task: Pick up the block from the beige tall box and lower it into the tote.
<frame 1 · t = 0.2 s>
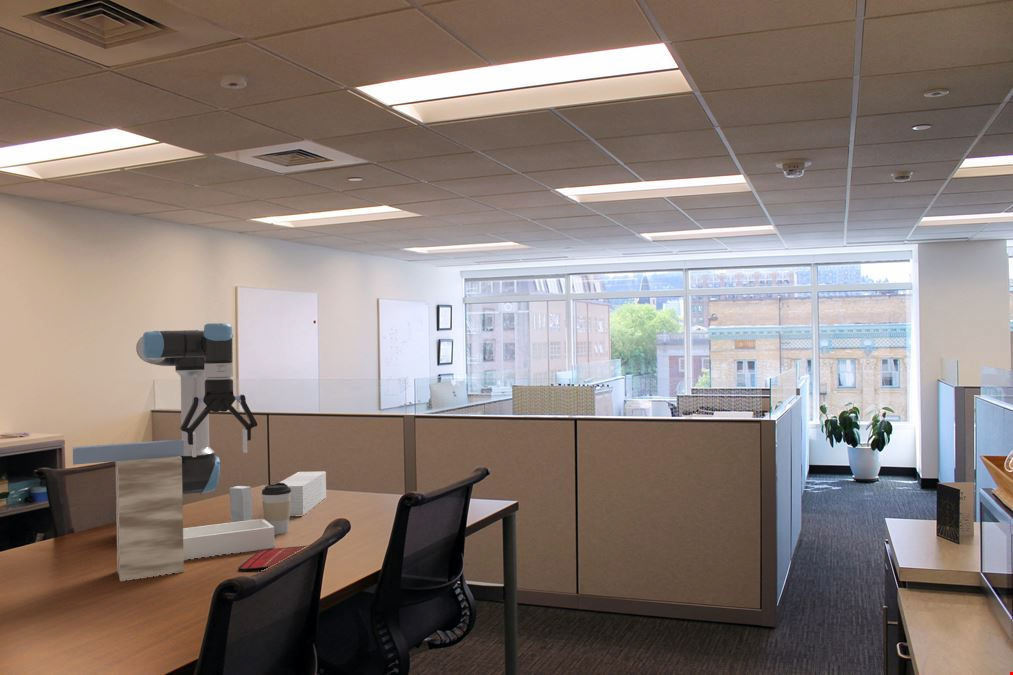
hand: (220, 454, 224), 29 cm above the table, tool pointing down, fingers open, 13 cm apart
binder: (278, 563, 220), on the table
beige tall box: (150, 571, 211), on the table
block: (129, 459, 209), point 30 cm above the table, touching beige tall box
tote: (211, 550, 232), on the table
skincare box: (241, 523, 268), on the table
stack of papers: (300, 508, 293), on the table
coffee cup: (277, 532, 254), on the table
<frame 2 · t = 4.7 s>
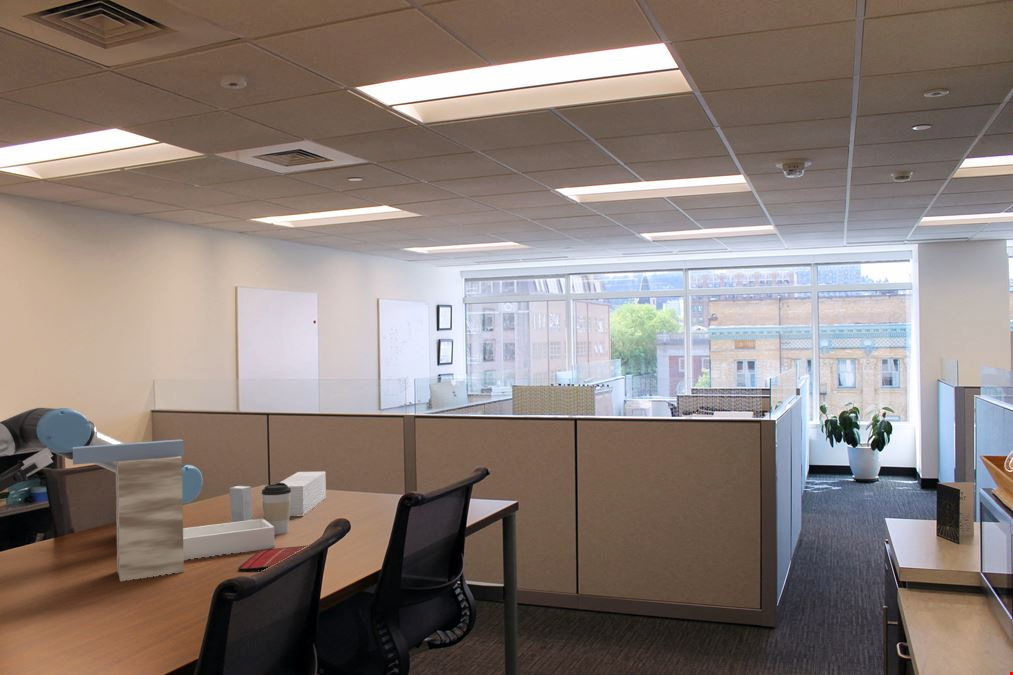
hand: (50, 454, 207), 32 cm above the table, tool pointing upward, fingers open, 13 cm apart
nothing on the table moved.
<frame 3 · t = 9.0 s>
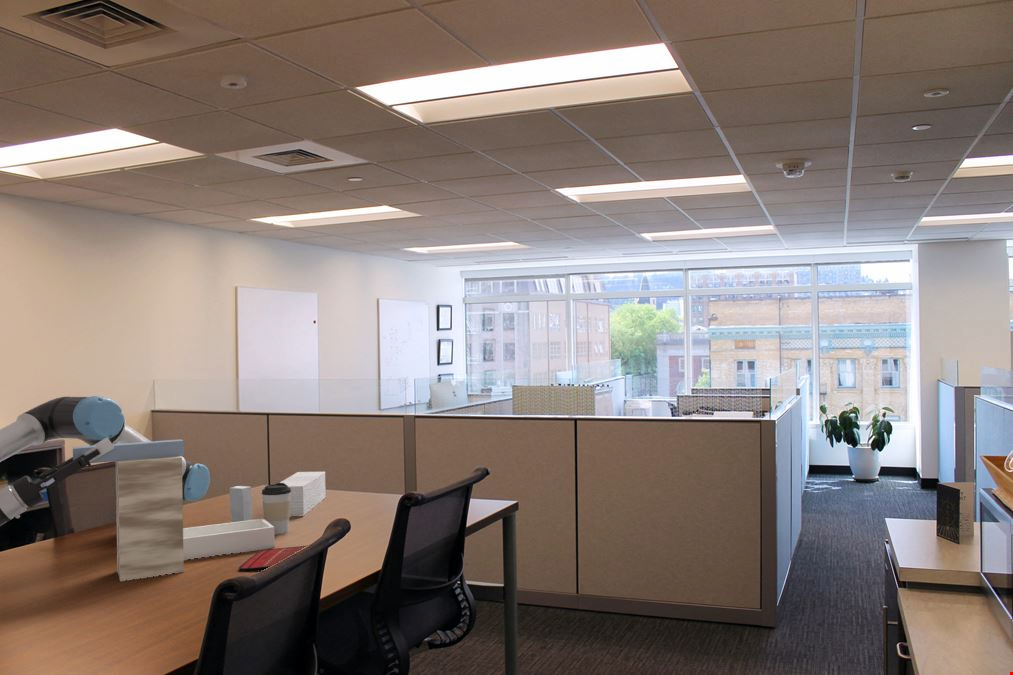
hand: (110, 442, 207), 35 cm above the table, tool pointing upward, fingers closed on block, 4 cm apart
block: (129, 459, 209), point 30 cm above the table, touching gripper, beige tall box
everything else where it was.
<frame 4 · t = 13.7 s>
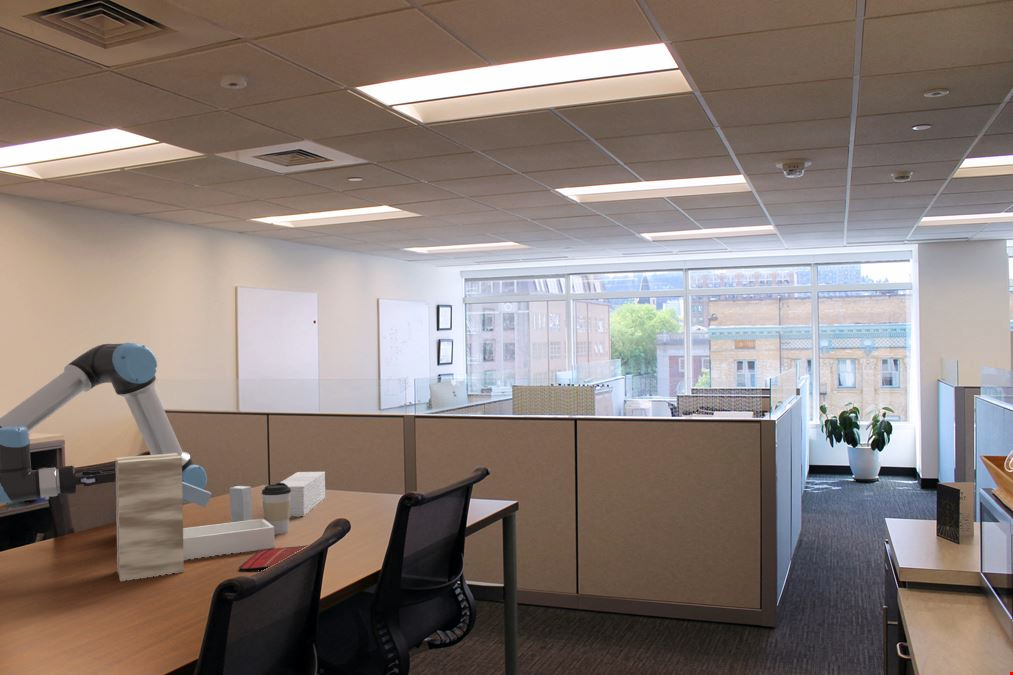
hand: (153, 468, 225), 25 cm above the table, tool horizontal, fingers closed on block, 4 cm apart
block: (160, 489, 225), point 19 cm above the table, tilted 27°, touching gripper
everything else where it was.
when the fingers open (12 cm above the table, at t = 17.2 s): block drops 3 cm, resting on tote.
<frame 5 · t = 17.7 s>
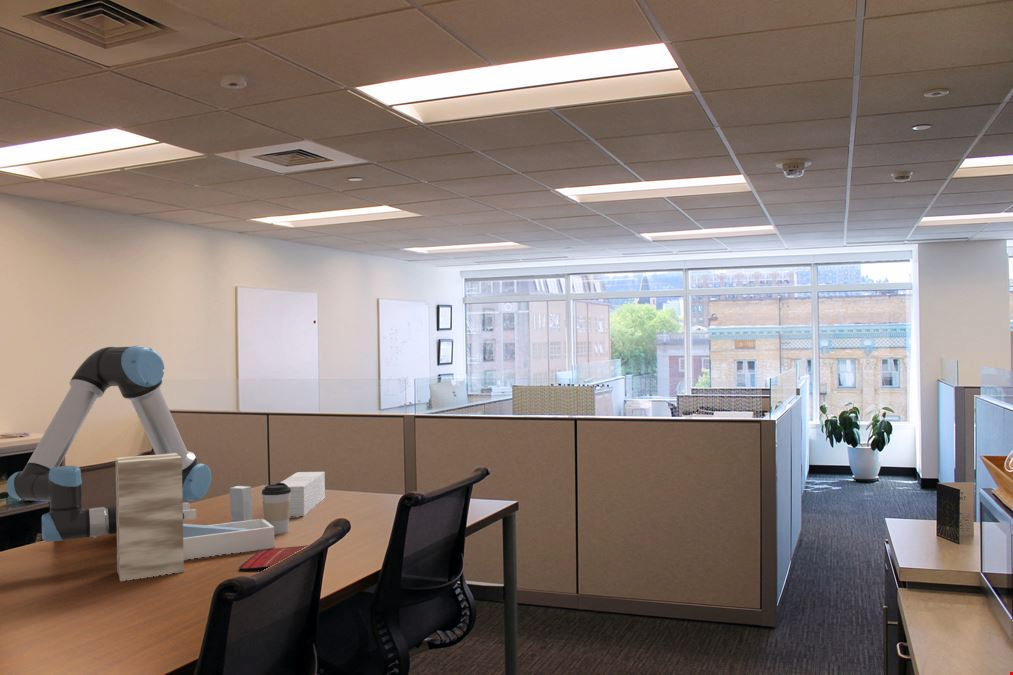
hand: (192, 510, 230), 12 cm above the table, tool horizontal, fingers open, 11 cm apart
block: (199, 540, 230), point 3 cm above the table, tilted 12°, touching tote
everything else where it was.
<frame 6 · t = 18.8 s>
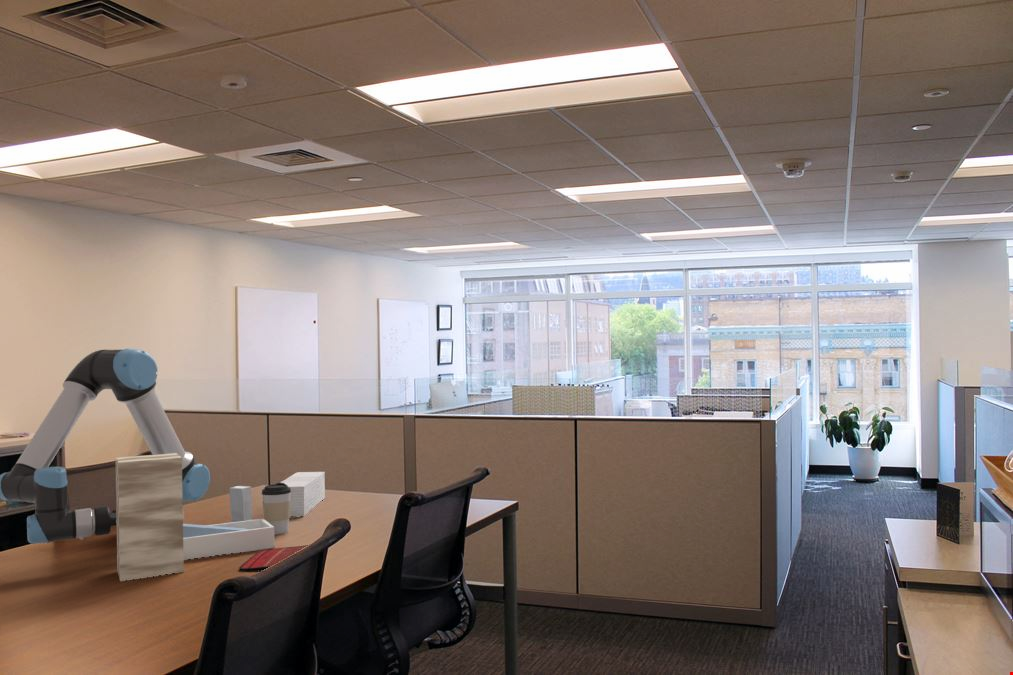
hand: (180, 510, 229), 12 cm above the table, tool horizontal, fingers open, 11 cm apart
nothing on the table moved.
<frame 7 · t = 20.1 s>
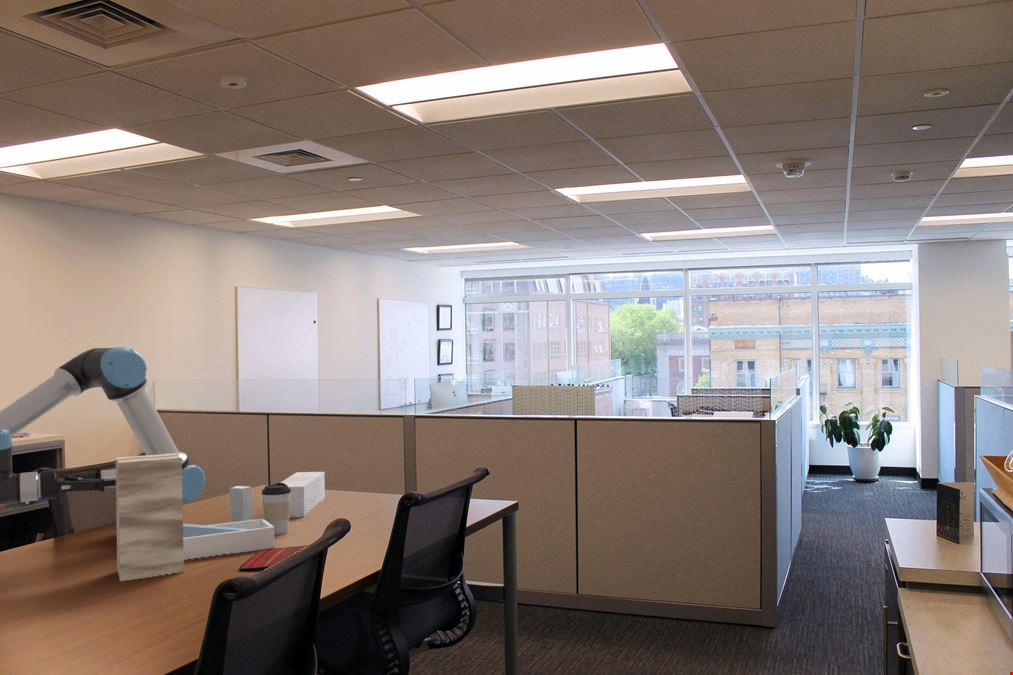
hand: (129, 476, 222), 24 cm above the table, tool horizontal, fingers open, 13 cm apart
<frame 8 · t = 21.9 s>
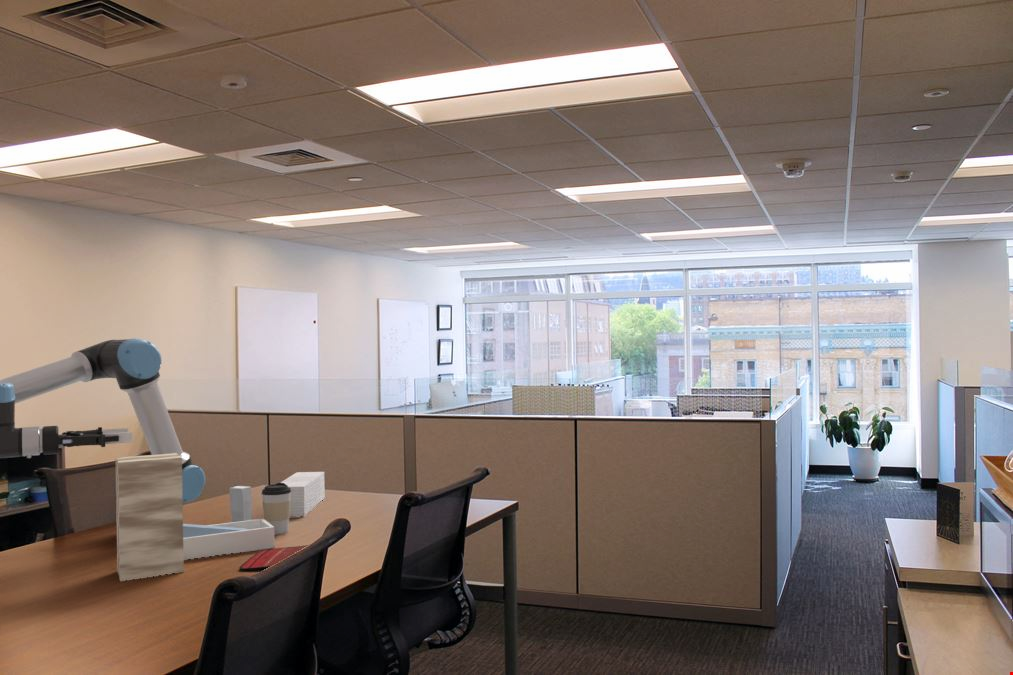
hand: (130, 434, 222), 35 cm above the table, tool horizontal, fingers open, 13 cm apart
at the end: block inside the target area on the tote (3.2 cm from its centre), point 3.4 cm above the tote's base; the gripper is holding nothing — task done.
